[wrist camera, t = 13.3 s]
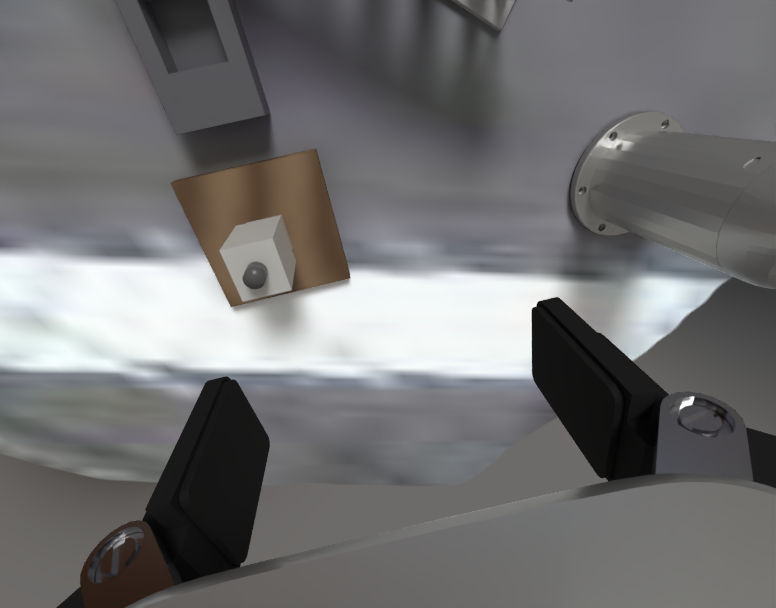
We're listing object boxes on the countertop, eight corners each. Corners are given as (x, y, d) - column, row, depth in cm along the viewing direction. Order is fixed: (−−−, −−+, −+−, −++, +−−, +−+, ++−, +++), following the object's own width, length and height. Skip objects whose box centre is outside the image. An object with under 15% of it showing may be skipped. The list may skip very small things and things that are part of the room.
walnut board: (315, 148, 33) (315, 150, 32) (349, 273, 40) (350, 277, 39) (175, 180, 33) (170, 183, 32) (233, 301, 39) (231, 306, 38)
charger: (283, 208, 34) (270, 245, 26) (297, 251, 37) (290, 299, 28) (241, 217, 34) (214, 258, 25) (258, 260, 36) (238, 311, 28)
